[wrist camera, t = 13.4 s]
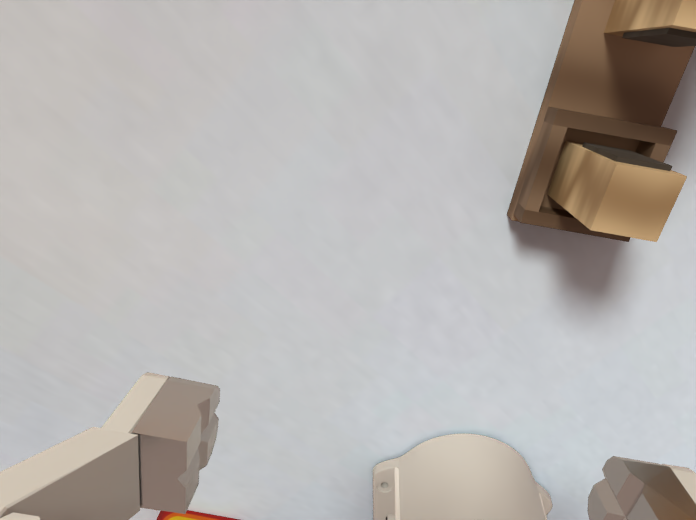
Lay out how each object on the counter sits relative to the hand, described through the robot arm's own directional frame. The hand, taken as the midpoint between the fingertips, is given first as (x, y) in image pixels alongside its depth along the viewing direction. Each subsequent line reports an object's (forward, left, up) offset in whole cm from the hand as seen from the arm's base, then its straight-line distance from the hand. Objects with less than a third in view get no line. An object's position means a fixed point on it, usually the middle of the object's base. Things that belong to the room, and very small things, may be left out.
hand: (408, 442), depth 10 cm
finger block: (+2, -14, -28) cm, 31 cm away
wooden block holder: (+7, -14, -29) cm, 33 cm away
